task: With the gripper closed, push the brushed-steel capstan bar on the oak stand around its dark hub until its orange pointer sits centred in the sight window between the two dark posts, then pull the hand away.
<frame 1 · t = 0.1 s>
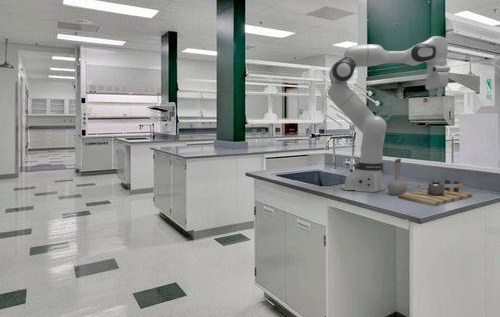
hand: (435, 97, 181), 48 cm above the countertop, tool pointing down, fingers open, 8 cm apart
stand: (435, 197, 168), on the countertop
potion bottle: (396, 194, 176), on the countertop
capstan: (440, 187, 168), point 5 cm above the countertop, hinge at -35.0°
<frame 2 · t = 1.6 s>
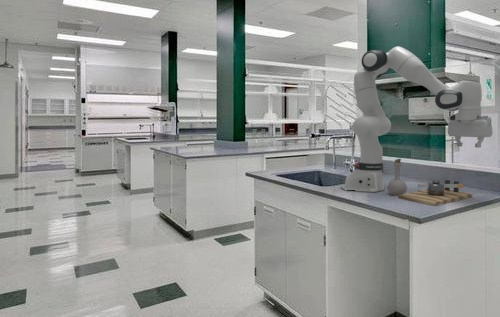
hand: (468, 146, 161), 24 cm above the countertop, tool pointing down, fingers open, 8 cm apart
nothing on the countertop moved.
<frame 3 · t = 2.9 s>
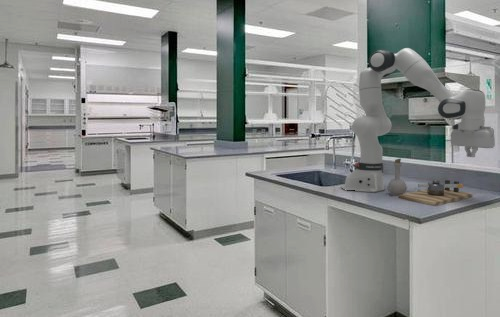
hand: (470, 157, 159), 20 cm above the countertop, tool pointing down, fingers closed
nothing on the countertop moved.
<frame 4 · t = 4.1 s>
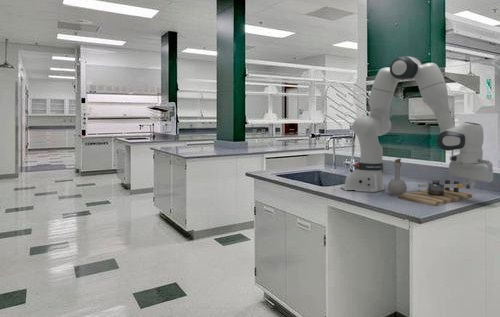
hand: (469, 188, 161), 6 cm above the countertop, tool pointing down, fingers closed
nothing on the countertop moved.
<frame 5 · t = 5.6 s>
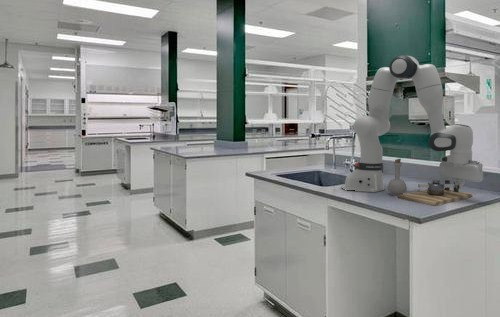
hand: (459, 188, 166), 5 cm above the countertop, tool pointing down, fingers closed
capstan: (440, 187, 168), point 5 cm above the countertop, hinge at -32.1°, touching gripper
everything else where it was.
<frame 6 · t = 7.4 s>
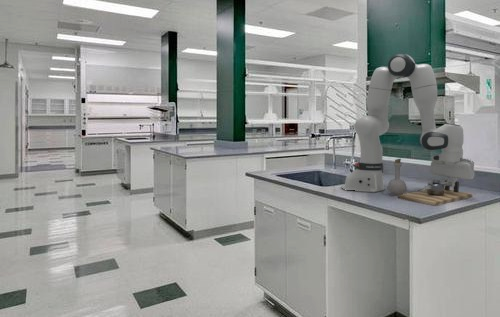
hand: (450, 186, 171), 5 cm above the countertop, tool pointing down, fingers closed
capstan: (438, 186, 169), point 5 cm above the countertop, hinge at -0.8°, touching gripper
everything else where it was.
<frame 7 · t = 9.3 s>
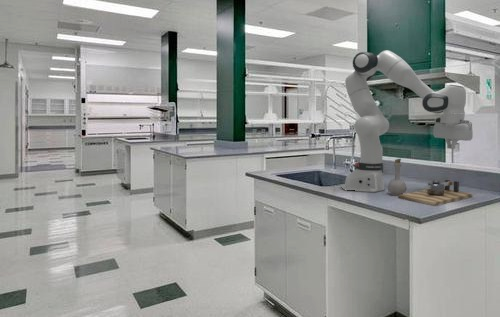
hand: (450, 148, 170), 23 cm above the countertop, tool pointing down, fingers closed
capstan: (438, 186, 169), point 5 cm above the countertop, hinge at -0.8°
everything else where it was.
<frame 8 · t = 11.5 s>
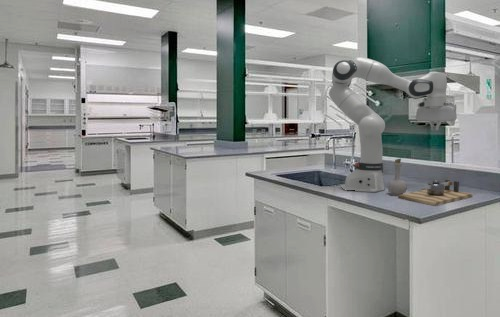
hand: (434, 130, 185), 31 cm above the countertop, tool pointing down, fingers closed
nothing on the countertop moved.
at the end: capstan at -1° (first picture: -35°); potion bottle moved 0.2 cm from its start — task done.
